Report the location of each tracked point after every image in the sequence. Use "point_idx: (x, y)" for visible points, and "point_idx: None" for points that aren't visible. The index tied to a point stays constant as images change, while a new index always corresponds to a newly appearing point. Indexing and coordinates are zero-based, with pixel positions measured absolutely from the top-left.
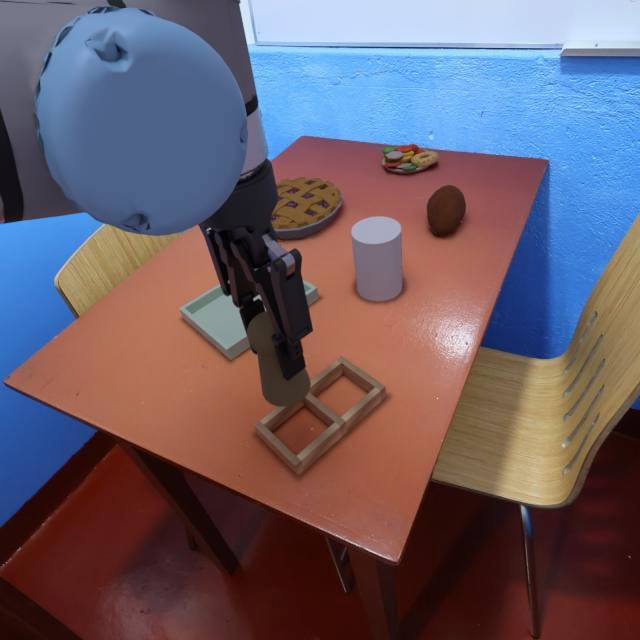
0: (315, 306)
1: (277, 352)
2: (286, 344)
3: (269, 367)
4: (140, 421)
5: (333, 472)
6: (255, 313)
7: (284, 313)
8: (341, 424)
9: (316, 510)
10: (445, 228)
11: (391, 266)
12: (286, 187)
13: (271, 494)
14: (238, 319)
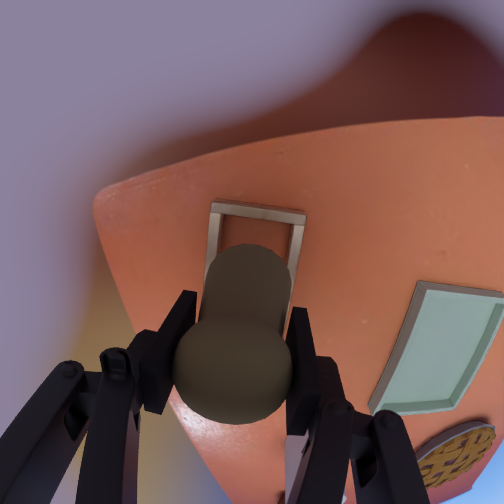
0: (365, 395)
1: (169, 333)
2: (134, 359)
3: (221, 295)
4: (449, 142)
5: (185, 227)
6: (292, 399)
7: (15, 431)
8: (204, 283)
9: (170, 179)
10: (283, 500)
11: (287, 472)
12: (463, 467)
13: (227, 160)
14: (443, 332)
